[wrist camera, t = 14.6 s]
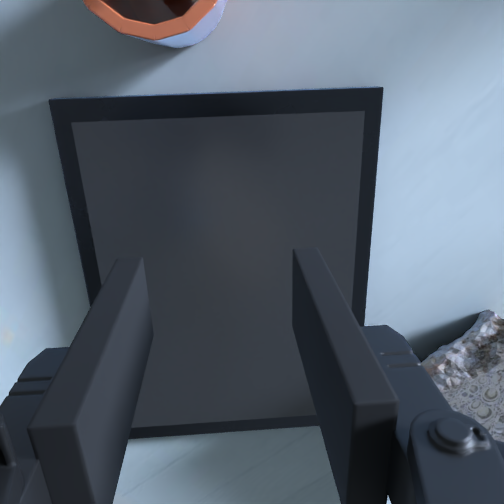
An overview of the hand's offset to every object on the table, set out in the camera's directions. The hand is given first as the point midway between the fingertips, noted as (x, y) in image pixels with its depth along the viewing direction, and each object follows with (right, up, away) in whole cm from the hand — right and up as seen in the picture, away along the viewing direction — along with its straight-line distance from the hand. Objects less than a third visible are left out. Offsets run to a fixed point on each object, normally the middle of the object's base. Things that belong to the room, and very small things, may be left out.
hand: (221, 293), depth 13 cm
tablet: (-1, -1, +16) cm, 16 cm away
